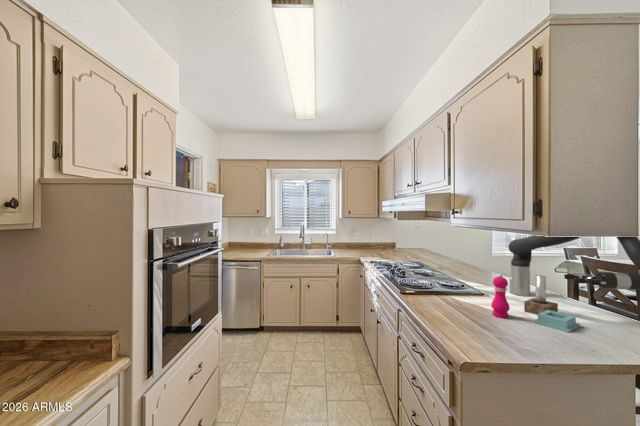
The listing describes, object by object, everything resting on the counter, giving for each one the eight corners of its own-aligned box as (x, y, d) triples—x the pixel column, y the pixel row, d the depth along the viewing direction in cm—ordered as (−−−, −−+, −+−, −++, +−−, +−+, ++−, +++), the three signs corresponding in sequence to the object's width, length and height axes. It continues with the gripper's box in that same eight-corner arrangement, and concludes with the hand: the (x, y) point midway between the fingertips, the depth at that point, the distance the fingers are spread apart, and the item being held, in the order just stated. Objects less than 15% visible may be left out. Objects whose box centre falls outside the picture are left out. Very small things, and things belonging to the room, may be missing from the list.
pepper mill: (489, 316, 130) (489, 273, 130) (493, 312, 135) (493, 271, 136) (508, 320, 125) (507, 276, 125) (510, 315, 131) (510, 273, 131)
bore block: (524, 311, 137) (524, 301, 137) (533, 307, 142) (533, 298, 142) (549, 317, 128) (549, 306, 128) (557, 313, 133) (557, 303, 133)
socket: (534, 322, 122) (534, 313, 122) (545, 317, 128) (545, 308, 128) (568, 332, 112) (568, 322, 112) (579, 326, 118) (579, 317, 118)
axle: (534, 312, 136) (534, 275, 136) (537, 310, 138) (537, 274, 138) (544, 314, 132) (543, 277, 132) (547, 312, 134) (547, 276, 134)
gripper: (602, 269, 133) (561, 267, 138) (624, 275, 119) (577, 273, 125) (603, 285, 133) (561, 282, 138) (624, 292, 119) (578, 290, 124)
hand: (569, 278), depth 131 cm, fingers open, 8 cm apart
